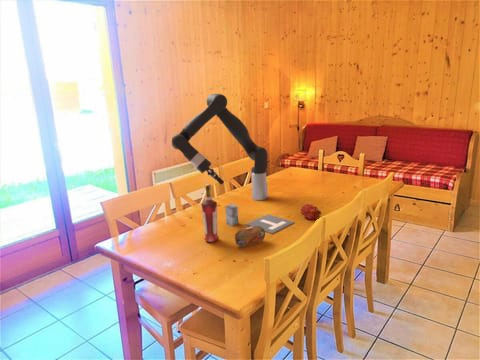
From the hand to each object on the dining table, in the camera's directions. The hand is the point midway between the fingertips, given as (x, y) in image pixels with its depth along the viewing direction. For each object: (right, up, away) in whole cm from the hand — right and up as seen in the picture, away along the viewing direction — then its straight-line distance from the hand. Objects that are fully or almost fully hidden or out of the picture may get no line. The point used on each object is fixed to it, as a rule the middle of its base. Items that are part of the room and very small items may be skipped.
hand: (222, 183), depth 200 cm
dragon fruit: (+48, -19, -1) cm, 51 cm away
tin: (+14, -28, -28) cm, 42 cm away
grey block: (+5, -22, -4) cm, 22 cm away
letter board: (+25, -21, -6) cm, 34 cm away
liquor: (-4, -28, -23) cm, 36 cm away
